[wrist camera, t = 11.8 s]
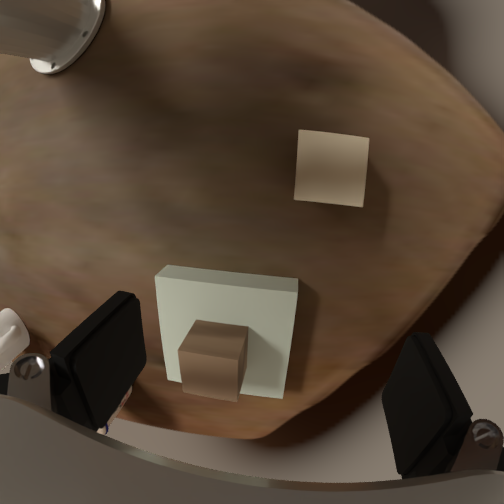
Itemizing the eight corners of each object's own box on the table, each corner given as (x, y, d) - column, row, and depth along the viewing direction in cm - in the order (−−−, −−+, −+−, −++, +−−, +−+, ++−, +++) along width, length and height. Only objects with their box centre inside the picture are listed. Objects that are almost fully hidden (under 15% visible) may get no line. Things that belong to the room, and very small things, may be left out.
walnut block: (196, 319, 27) (177, 350, 23) (248, 326, 27) (238, 360, 22) (198, 359, 29) (183, 392, 24) (246, 367, 28) (237, 402, 24)
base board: (167, 264, 29) (154, 276, 27) (298, 278, 28) (297, 292, 25) (176, 364, 34) (167, 379, 31) (284, 380, 32) (282, 398, 29)
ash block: (298, 134, 24) (298, 129, 19) (356, 141, 23) (369, 138, 18) (294, 191, 25) (293, 199, 21) (351, 197, 25) (362, 207, 20)
